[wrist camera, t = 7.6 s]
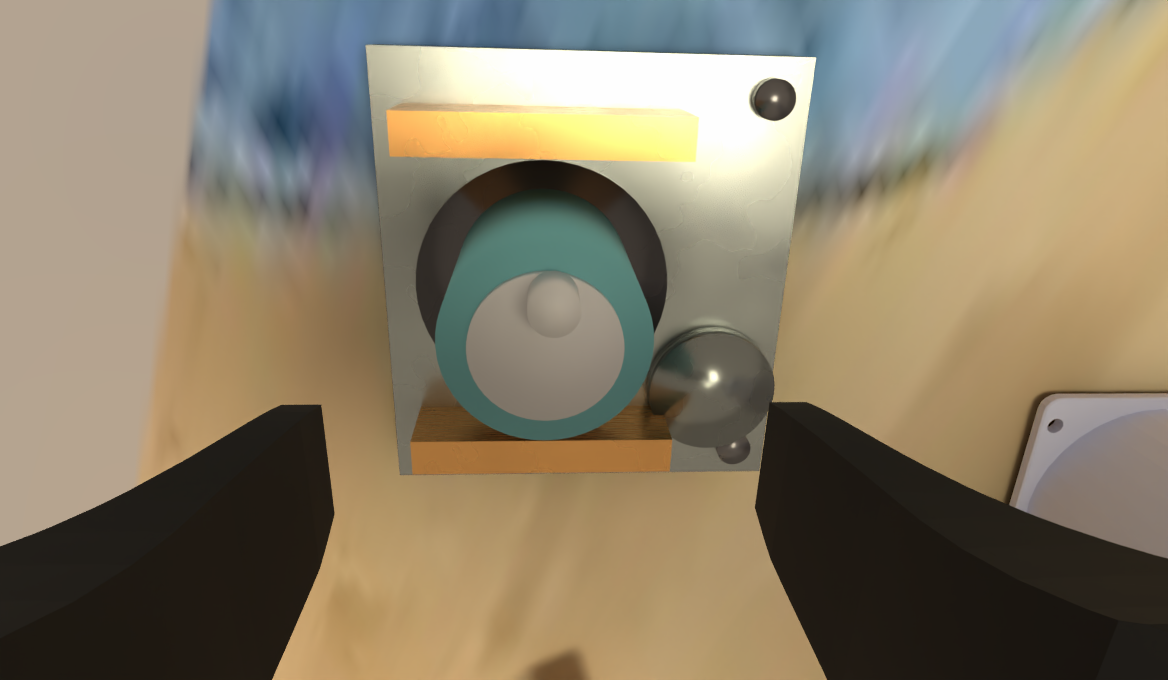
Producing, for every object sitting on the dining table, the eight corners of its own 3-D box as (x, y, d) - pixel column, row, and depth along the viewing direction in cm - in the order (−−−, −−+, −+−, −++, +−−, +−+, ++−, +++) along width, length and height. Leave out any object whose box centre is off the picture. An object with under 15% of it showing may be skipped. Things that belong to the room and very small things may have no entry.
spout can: (612, 357, 21) (642, 482, 15) (452, 340, 20) (419, 462, 15) (639, 200, 19) (684, 272, 13) (465, 177, 19) (434, 242, 13)
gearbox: (746, 446, 24) (778, 509, 21) (407, 448, 23) (387, 515, 20) (795, 56, 20) (847, 60, 16) (377, 44, 19) (345, 45, 16)
